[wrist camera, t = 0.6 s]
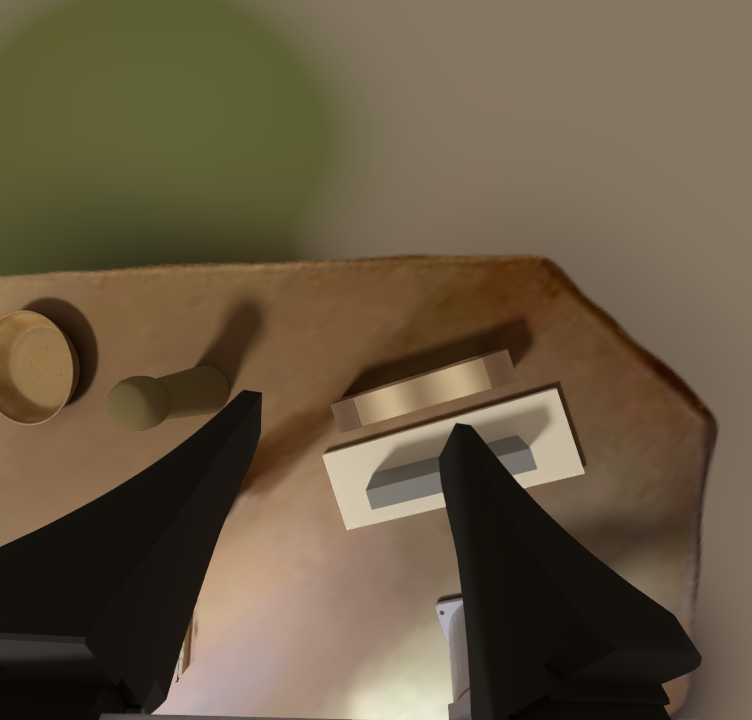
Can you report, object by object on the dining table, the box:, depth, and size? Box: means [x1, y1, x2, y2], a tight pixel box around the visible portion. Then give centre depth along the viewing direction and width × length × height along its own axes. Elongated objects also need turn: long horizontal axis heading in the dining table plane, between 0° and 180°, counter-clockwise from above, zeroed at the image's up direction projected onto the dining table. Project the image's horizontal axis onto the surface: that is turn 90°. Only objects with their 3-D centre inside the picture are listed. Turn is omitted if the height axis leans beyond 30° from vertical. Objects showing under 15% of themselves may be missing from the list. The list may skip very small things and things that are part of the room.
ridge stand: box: [322, 388, 585, 530], centre depth 32 cm, size 9×26×5 cm, turn 109°
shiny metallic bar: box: [331, 349, 518, 433], centre depth 33 cm, size 18×3×4 cm, turn 109°
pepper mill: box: [107, 365, 229, 431], centre depth 34 cm, size 6×6×11 cm
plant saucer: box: [0, 310, 80, 425], centre depth 42 cm, size 15×15×3 cm
